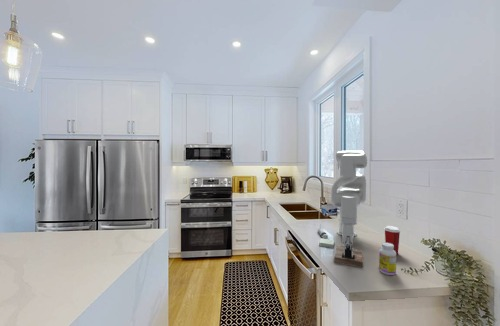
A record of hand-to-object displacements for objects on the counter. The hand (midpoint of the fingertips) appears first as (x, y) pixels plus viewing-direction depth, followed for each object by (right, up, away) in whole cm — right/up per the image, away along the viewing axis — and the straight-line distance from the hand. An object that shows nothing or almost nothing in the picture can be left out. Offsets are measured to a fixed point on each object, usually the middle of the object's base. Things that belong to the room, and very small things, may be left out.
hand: (348, 253), depth 113 cm
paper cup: (+29, -4, +10) cm, 31 cm away
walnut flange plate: (+1, -4, +3) cm, 5 cm away
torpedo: (-1, -4, +39) cm, 39 cm away
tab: (-3, -4, +22) cm, 23 cm away
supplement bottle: (+13, -4, -11) cm, 18 cm away
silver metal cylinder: (0, -4, 0) cm, 4 cm away
